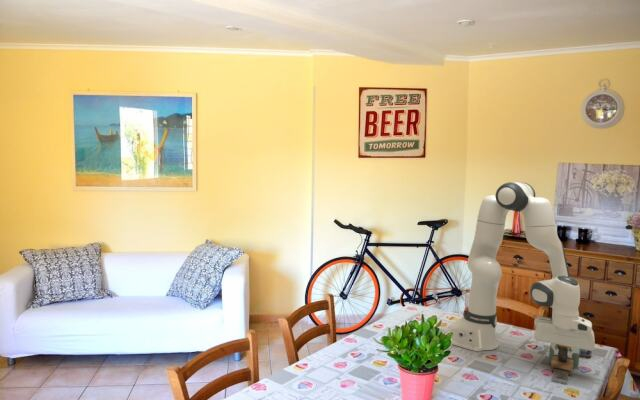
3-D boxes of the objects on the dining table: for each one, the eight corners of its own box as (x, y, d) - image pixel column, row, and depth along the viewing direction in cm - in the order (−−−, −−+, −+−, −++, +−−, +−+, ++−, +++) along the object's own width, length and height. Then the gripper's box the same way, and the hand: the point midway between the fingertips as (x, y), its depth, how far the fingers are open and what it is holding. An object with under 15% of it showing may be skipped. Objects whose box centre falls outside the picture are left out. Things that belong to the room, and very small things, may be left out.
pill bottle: (593, 359, 191) (595, 332, 190) (576, 357, 193) (578, 331, 191) (588, 352, 197) (589, 326, 196) (572, 351, 199) (573, 325, 197)
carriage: (550, 370, 181) (552, 348, 180) (552, 364, 186) (553, 343, 185) (571, 374, 177) (573, 352, 176) (572, 368, 182) (574, 347, 181)
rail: (551, 381, 173) (551, 377, 173) (555, 365, 186) (555, 361, 185) (566, 384, 170) (567, 380, 170) (570, 368, 183) (570, 364, 183)
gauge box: (548, 362, 188) (549, 348, 187) (550, 356, 194) (551, 341, 193) (577, 368, 183) (578, 353, 182) (578, 362, 189) (579, 347, 188)
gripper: (533, 317, 182) (531, 352, 183) (595, 328, 172) (593, 365, 173) (535, 312, 187) (533, 347, 189) (596, 323, 177) (593, 359, 178)
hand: (562, 356), depth 181 cm, fingers closed on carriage, 3 cm apart
